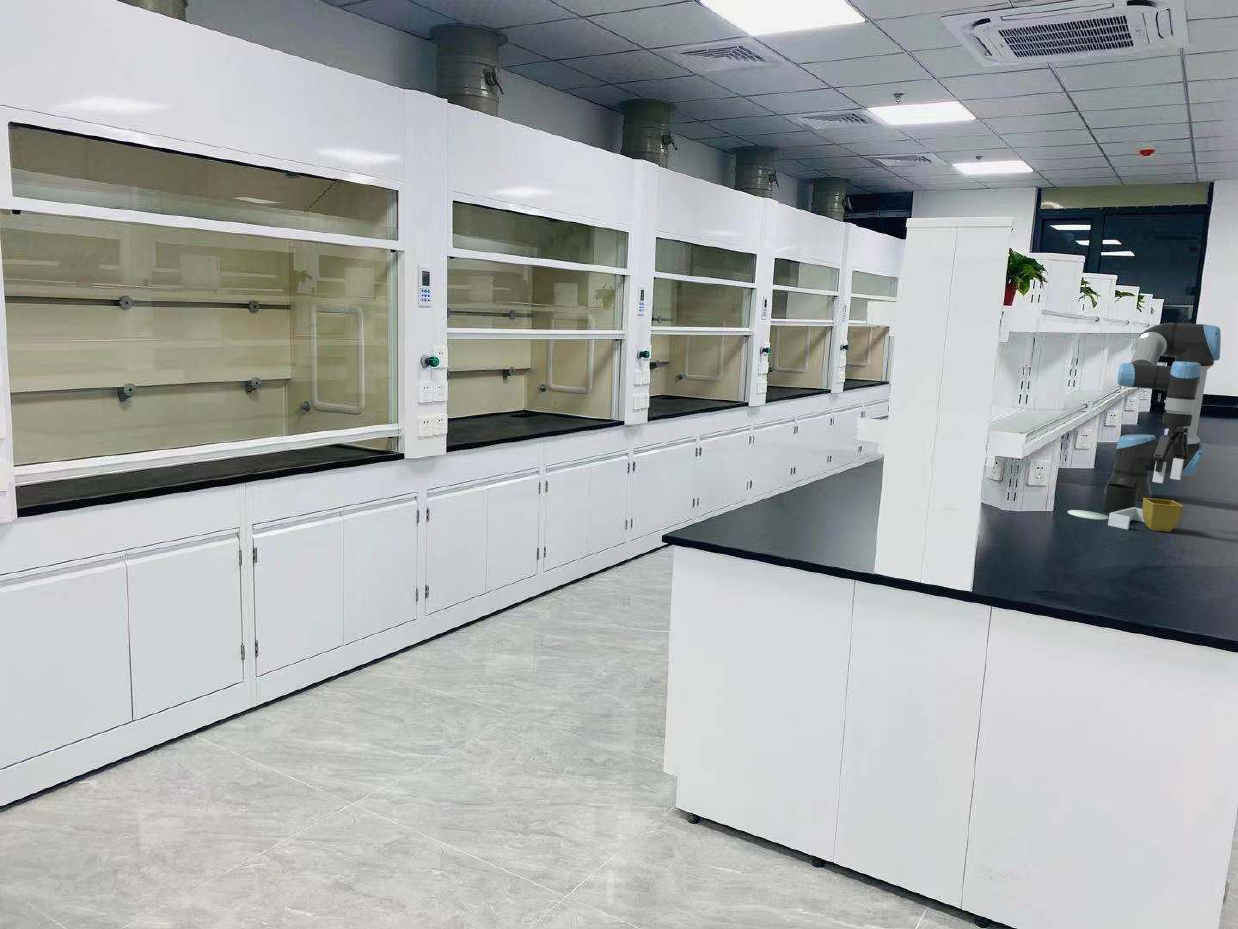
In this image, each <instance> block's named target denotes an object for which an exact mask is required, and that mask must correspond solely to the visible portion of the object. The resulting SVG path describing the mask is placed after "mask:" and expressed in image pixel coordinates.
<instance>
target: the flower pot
mask: <svg viewBox="0 0 1238 929" xmlns="http://www.w3.org/2000/svg"><path fill="white" fill-rule="evenodd" d="M1142 509H1143V519H1144V522H1143V523H1145V527H1147V528H1148V529H1150V530H1152V531H1155V532H1156V531H1157V532H1165V533H1170V532H1172V530H1173V529H1174V528H1175V527H1176V526H1177V525H1178V523H1179V521H1180V518H1181V515H1182V513H1183V509H1184V506H1183V505H1182V504H1181V503H1178V502H1176V501H1174V500H1171V499H1162V498H1152V497H1151V498H1143V501H1142Z"/></svg>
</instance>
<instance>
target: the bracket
mask: <svg viewBox="0 0 1238 929" xmlns="http://www.w3.org/2000/svg"><path fill="white" fill-rule="evenodd" d="M1108 517H1109V518H1108V522H1107V526H1109V527H1115V528H1119V529H1124V530H1129V529H1130V522H1131V521H1137V522H1142V523H1145V522H1144V519H1143V508H1139V507H1136V508H1135V507H1133V508H1129V509H1124V510H1120V511H1116V512H1111V513H1109V516H1108Z"/></svg>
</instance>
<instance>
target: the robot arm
mask: <svg viewBox="0 0 1238 929" xmlns="http://www.w3.org/2000/svg"><path fill="white" fill-rule="evenodd" d="M1221 343H1222V341H1221V328H1220V327H1219V326H1217V325H1211V324H1203V323H1202V324H1201V323H1182V322H1181V323H1180V322H1179V323H1177V322H1166V323H1165V322H1164V323H1160V324H1157V325H1153V326H1151V327H1149V328H1147V329H1145V330H1144V331H1143V332H1141V333H1140V334H1139V335H1138V337H1137V338H1136V340H1135V342H1134V349H1135V351H1134V353H1133V355H1132V358H1131V360H1130V362H1128V363H1127V362H1124V363H1121V364H1120V365H1119V368H1118V373H1117V384H1118V385H1119V386H1120V387H1127V388H1135V389H1139V388H1140V389H1146V390H1147V389H1148V390H1149V389H1150V390H1158V391H1167V394H1166V397H1165V398H1166V399H1164V401H1163V402H1164V404H1165V405H1164V410H1165V411H1164V412H1163V416H1162V421H1161V423H1162V424H1163V425H1167V427H1166V428H1162V430H1161V434H1160V437H1159V439H1156V436H1155V435H1153V434H1124V435H1121V436H1120V437H1119V438H1118V440H1117V446H1116V447H1115V449H1116V450H1115V451H1116V452H1115V458H1114V462H1113V469H1112V474H1111V476H1110V477H1109V480H1108V482H1107V484H1123V485H1130V486H1134V487H1137V488H1138V489H1139V490H1138V496H1137V502H1138V501H1142V502H1143V498H1152V490H1151V486H1150V480H1149V477H1150V472H1153V475H1152V482H1153V483H1159V484H1164V480H1165V474H1169V475H1170V477H1169V479H1171V480H1177V481H1181V480H1182V478H1181V477H1183V476H1185V477H1192V476H1194V475H1195V474H1196V473H1197V470H1198V467H1199V464H1200V461H1201V459H1202V455H1203V452H1204V449H1205V445H1203V444H1201V438H1199V437H1198V435H1197V433H1198V432H1197V431H1198V428H1199V427H1198V426H1199V422H1200V414H1201V410H1202V409H1201V408H1202V403H1203V397H1204V392H1205V391H1204V390H1205V386H1206V380H1207V375H1208V370H1209V369H1210V368H1212V367H1214V364H1215V361H1217V362H1218V361H1219V360H1220V359H1221ZM1160 357H1170V358H1174V362H1172V364H1171V366H1170V365H1169V366H1168V365H1158V363H1159V360H1160ZM1107 484H1106V485H1105V488H1104V491H1103V493H1104V495H1105V492H1106V486H1107Z"/></svg>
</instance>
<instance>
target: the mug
mask: <svg viewBox="0 0 1238 929" xmlns="http://www.w3.org/2000/svg"><path fill="white" fill-rule="evenodd" d="M1106 485H1107V486H1106ZM1106 485H1105V487H1106V492H1105V494H1104V499H1103V505H1102V510H1103V511H1104V512H1105V513H1109V514H1110V513H1111V512H1116V511H1120V510H1124V509H1129V508H1133V507H1135V508H1137V502H1138V500H1137V496H1138V490H1139V489H1138V488H1137V487H1134V486H1130V485H1123V484H1106Z"/></svg>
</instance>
